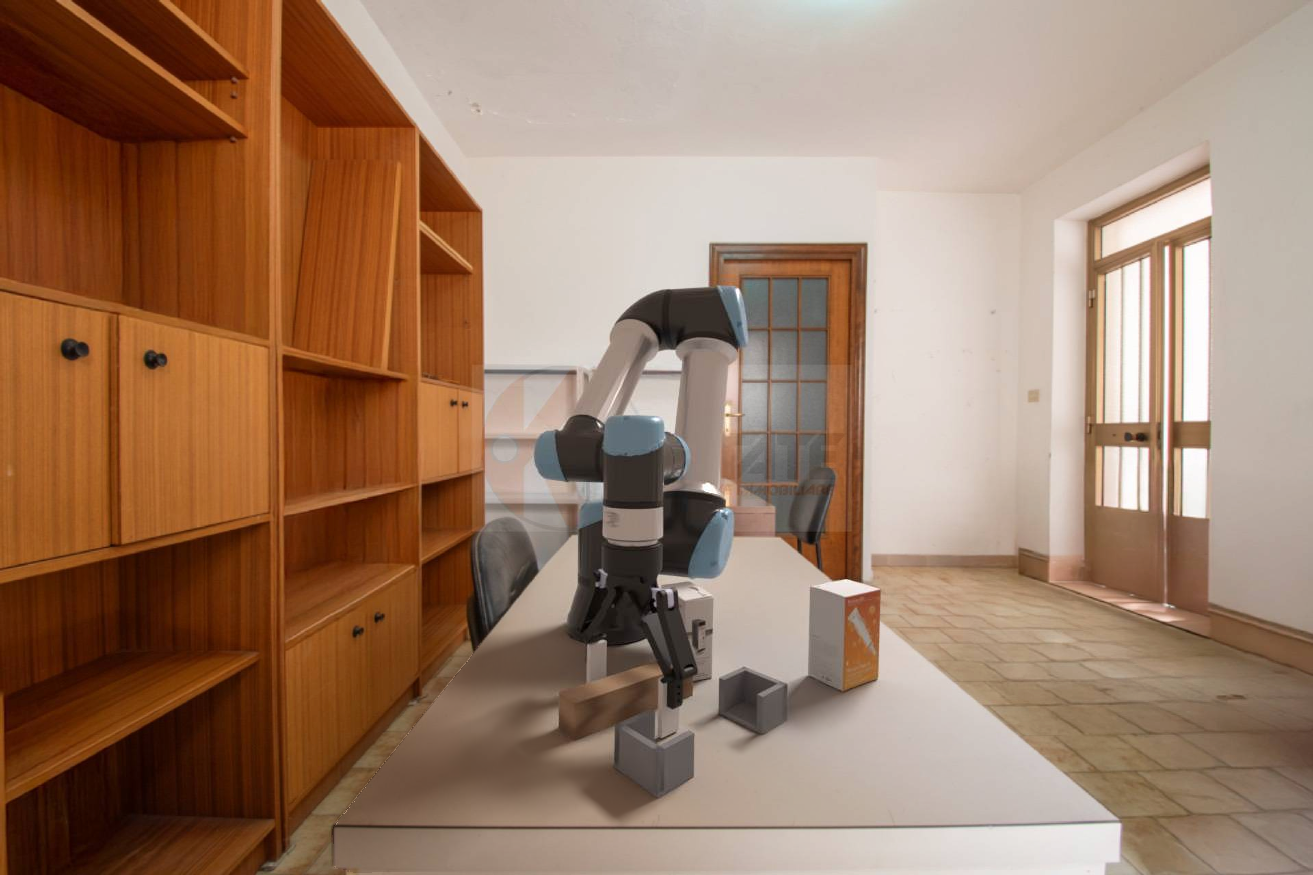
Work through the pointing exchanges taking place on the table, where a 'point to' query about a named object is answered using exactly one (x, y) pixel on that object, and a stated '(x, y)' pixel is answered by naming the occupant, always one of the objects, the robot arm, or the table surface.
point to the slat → (611, 700)
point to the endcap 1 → (652, 755)
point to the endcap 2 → (753, 699)
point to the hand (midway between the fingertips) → (629, 711)
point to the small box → (844, 633)
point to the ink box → (697, 624)
